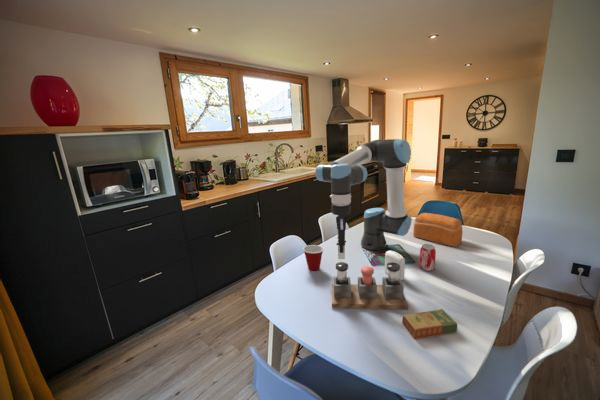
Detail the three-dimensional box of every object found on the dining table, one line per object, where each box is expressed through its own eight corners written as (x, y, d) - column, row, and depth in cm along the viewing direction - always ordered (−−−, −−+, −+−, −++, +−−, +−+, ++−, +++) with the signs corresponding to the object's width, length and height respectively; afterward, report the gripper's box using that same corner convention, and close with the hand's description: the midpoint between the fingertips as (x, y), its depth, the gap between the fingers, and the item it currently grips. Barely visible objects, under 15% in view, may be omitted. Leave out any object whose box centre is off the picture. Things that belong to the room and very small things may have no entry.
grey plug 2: (383, 282, 112) (384, 263, 110) (395, 281, 113) (395, 261, 111) (389, 289, 107) (390, 269, 105) (401, 287, 108) (402, 267, 106)
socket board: (331, 307, 108) (331, 290, 106) (331, 287, 122) (331, 272, 120) (407, 309, 105) (409, 291, 103) (399, 289, 118) (399, 273, 116)
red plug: (358, 286, 114) (358, 267, 112) (370, 284, 115) (370, 265, 112) (363, 293, 109) (364, 273, 107) (375, 291, 110) (376, 271, 108)
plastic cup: (328, 266, 140) (327, 246, 137) (317, 276, 132) (316, 254, 129) (311, 262, 146) (310, 242, 143) (300, 270, 138) (298, 249, 135)
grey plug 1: (334, 282, 115) (334, 263, 112) (345, 280, 116) (345, 261, 113) (338, 288, 110) (337, 269, 107) (350, 287, 111) (350, 267, 108)
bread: (420, 230, 181) (421, 208, 177) (463, 241, 162) (466, 216, 158) (411, 237, 172) (412, 213, 168) (455, 248, 153) (458, 222, 149)
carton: (401, 323, 98) (402, 313, 97) (441, 317, 100) (442, 307, 99) (414, 340, 90) (415, 330, 89) (457, 333, 92) (458, 323, 91)
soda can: (436, 272, 130) (438, 249, 127) (420, 271, 131) (422, 249, 128) (432, 265, 136) (434, 243, 133) (417, 264, 138) (419, 243, 135)
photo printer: (383, 272, 132) (383, 249, 129) (389, 269, 134) (390, 247, 131) (398, 282, 123) (400, 258, 120) (405, 279, 125) (406, 255, 122)
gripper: (331, 199, 110) (332, 251, 116) (331, 208, 98) (332, 266, 103) (349, 199, 109) (349, 251, 115) (352, 208, 97) (351, 266, 103)
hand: (341, 258), depth 109 cm, fingers closed
